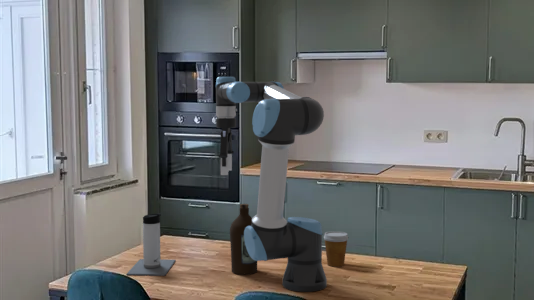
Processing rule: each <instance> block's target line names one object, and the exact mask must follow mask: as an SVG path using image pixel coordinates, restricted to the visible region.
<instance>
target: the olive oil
mask: <svg viewBox="0 0 534 300" xmlns="http://www.w3.org/2000/svg"><path fill="white" fill-rule="evenodd" d="M249 212H250V208H249V204H248V203H240V204H239V214H238V215H237V217H236V218H235V219H234V220H233V221H232V222H231V224H230V227H229V239H230V243H229V244H230V258H231V259H230V260H231V263H230V265H231V272H232V273H233V274H236V275H240V276H245V275H246V276H247V275H249V276H250V275H253V274H256V273H257V272H258V261H255V260H253V259H252V258H251V257H250V255H249V254H248V252H247V249H246V245H245V241H244V230H245V228H246V227H247V226H251V224H252V218H253V217H252V216H251V215H250V213H249Z"/></svg>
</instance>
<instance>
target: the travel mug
mask: <svg viewBox="0 0 534 300" xmlns="http://www.w3.org/2000/svg"><path fill="white" fill-rule="evenodd" d="M160 217H161V212H160V213H151V214H150V213H149V214H145V215H143V217H142V241H143V242H142V243H143V244H142V245H143V247H142V249H143V250H142V252H143V253H142V254H143V259H144V267H145V268H158V267H160V266H161V262H160V261H161V219H160Z"/></svg>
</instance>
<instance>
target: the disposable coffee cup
mask: <svg viewBox="0 0 534 300" xmlns="http://www.w3.org/2000/svg"><path fill="white" fill-rule="evenodd" d="M322 239H323V240H324V246H325V256H326V264H327V266H329V267H334V268H339V267H341V268H342V267H344V266H345V260H346V254H347V253H346V251H347V245H348V239H349V236H348V233H347V232H344V231H326V232H324V235H323V236H322Z"/></svg>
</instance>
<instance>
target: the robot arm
mask: <svg viewBox="0 0 534 300" xmlns="http://www.w3.org/2000/svg"><path fill="white" fill-rule="evenodd" d="M215 81H216V82H215V102H216V103H215V105H216V106H215V116H216V119H215V124H216V126H215V127H216V128H217V129H221V131H220V134H219V135H220V145H219V147H220V150H219V151H220V152H219V155H218V158H219V159H220V176H229V171H233V168H232V167H233V157H232V156H233V154H234V150H233V142H232V140H233V139H232V136H233V133H232V129H235V128H237V118H235V117H236V116H237V115H236V114H237V113H236V112H238V109H237V108H236V107H237V104H241V103H258V104H257V105H256V106H255V108H254V111H253V114H252V121H251V122H252V123H251V125H252V131H253V134H254V135H255V136H256V137H257V141H258V142H259V143H260V144H261V146H262V147H261V159H260V167H259V168H260V171H259V183H258V193H257V194H258V196H257V208H256V214H255V215H254V216H252V217H251V218H252V224H251V226H247V227H246V228H245V230H244V241H245V245H246V249H247V252H248V254H249V255H250V257H251V258H252V259H253V260H255V261H257V262H258V261H259V262H260V261H264V262H267V261H271V260H272V261H273V260H278V259H279V260H280V259H287V263H286V267H285V270H284V273H283V276H282V278H281V279H282V282H281V283H282V284H281V285H282V287H283V288H285V289H286V290H289V291H294V292H303V293H304V292H305V293H306V292H307V293H308V292H309V293H310V292H316V291H322V290H324V289H326V288H327V285H328V284H327V283H328V281H327V280H328V279H327V275H326V271H325V270H324V267H323V264H322V262H323V261H322V256H323V250H322V249H323V242H322V241H323V236H324V235H323V229H322V228H323V227H322V223H321V222H320V221H319V220H317V219H314V218H309V217H303V216H290V217H287V219H286V218H285V217H284V208H285V195H286V185H287V175H288V174H287V173H288V163H289V153H290V147H291V146H293V145H294V144H295V139H296V136H305V135H306V136H307V135H309V134H312V133H314V132H315V131H316V130H318V129H319V128H320V127H321V125H322V124H323V122H324V117H325V114H324V113H325V112H324V108H323V106H322V105H321V104H320V102H318V100H316V99H314V98H312V97H309V96H300V95H298V94H296V93H293V92H291V91H290V90H287V89H285V88H284V86H283V84H282V83H281V82H280V81H236V77H235V76H218V77H217V78H216V80H215Z"/></svg>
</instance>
